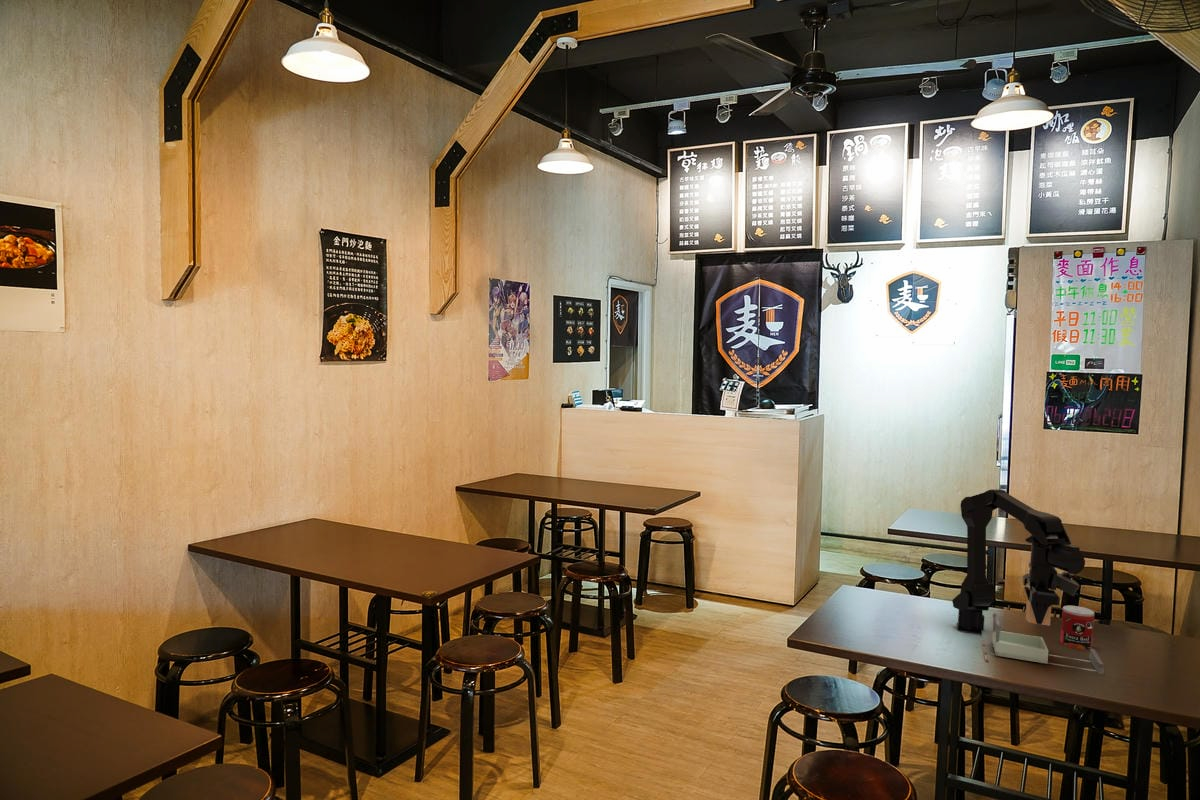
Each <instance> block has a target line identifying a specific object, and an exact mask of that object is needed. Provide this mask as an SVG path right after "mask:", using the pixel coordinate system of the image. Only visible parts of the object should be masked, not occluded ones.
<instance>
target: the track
mask: <svg viewBox="0 0 1200 800" xmlns="http://www.w3.org/2000/svg"><path fill="white" fill-rule="evenodd" d="M980 643H981V647H982V652H983V657H984V661H985V663H986V662H987V663H988V664H989V662H990V661H989V659H988V655H993V656H996V655H995V653H993V652H992V653H991V652H988V651H987V649H986V646H988V647H993V644H986V643H985V641H984V639H981V640H980ZM1050 656H1051V657H1054V658H1055V657H1056V658H1062V659H1067V660H1068V659H1069V660H1075V661H1081V662H1085V663H1087V662H1088V663H1091V664H1092V666H1093V668H1094V669H1091V668H1086V667H1085V668H1084V667H1078V666H1072V665H1066V664H1059V663H1054V662H1047V665H1048V664H1049V665H1054V666H1060V667H1066V668H1073V669H1078V670H1084V671H1091V672H1096V673H1097V675H1098V676H1104V672H1105V671H1104V670H1105V669H1104V668H1105V664H1104V662H1103V661H1102V659H1101V658H1100V656H1099V654H1098V653H1097V651H1096V649H1094V648H1091V649H1089V656H1088V658H1089V659H1088V660H1086V659H1081V658H1074V657H1069V656H1061V655H1056V654H1055V655H1054V654H1049V653H1048V657H1050Z"/></svg>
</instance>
